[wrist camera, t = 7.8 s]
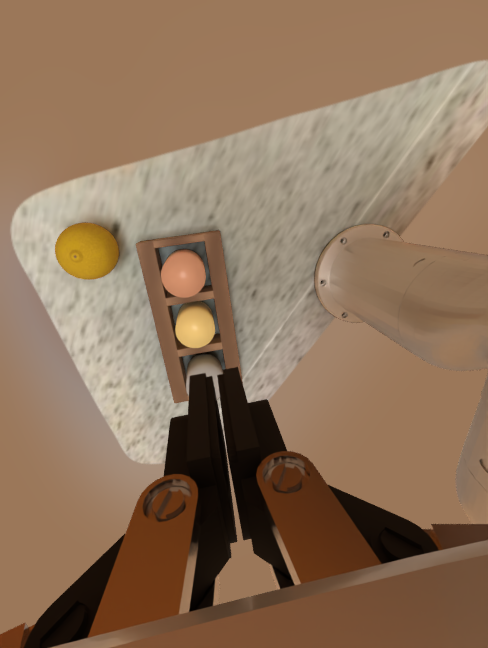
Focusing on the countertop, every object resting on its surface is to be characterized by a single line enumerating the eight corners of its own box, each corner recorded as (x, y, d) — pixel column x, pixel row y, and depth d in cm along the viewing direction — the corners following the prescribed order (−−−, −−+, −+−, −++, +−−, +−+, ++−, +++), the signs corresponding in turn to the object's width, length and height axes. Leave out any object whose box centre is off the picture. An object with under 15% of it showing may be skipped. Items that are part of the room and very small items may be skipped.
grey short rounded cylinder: (218, 351, 40) (221, 367, 36) (224, 381, 41) (227, 399, 37) (184, 357, 39) (182, 374, 35) (190, 387, 41) (190, 407, 37)
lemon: (121, 276, 37) (103, 293, 30) (71, 264, 36) (38, 279, 28) (129, 229, 35) (111, 234, 28) (76, 215, 34) (43, 216, 27)
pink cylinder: (200, 246, 35) (201, 250, 31) (207, 284, 37) (209, 293, 33) (161, 252, 35) (156, 257, 31) (169, 290, 36) (166, 300, 32)
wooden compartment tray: (218, 230, 37) (220, 231, 34) (240, 378, 44) (243, 390, 41) (140, 241, 36) (135, 243, 33) (175, 390, 43) (174, 403, 40)
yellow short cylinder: (209, 298, 39) (211, 308, 35) (215, 330, 41) (217, 344, 36) (174, 303, 39) (171, 315, 35) (181, 336, 40) (179, 351, 36)
